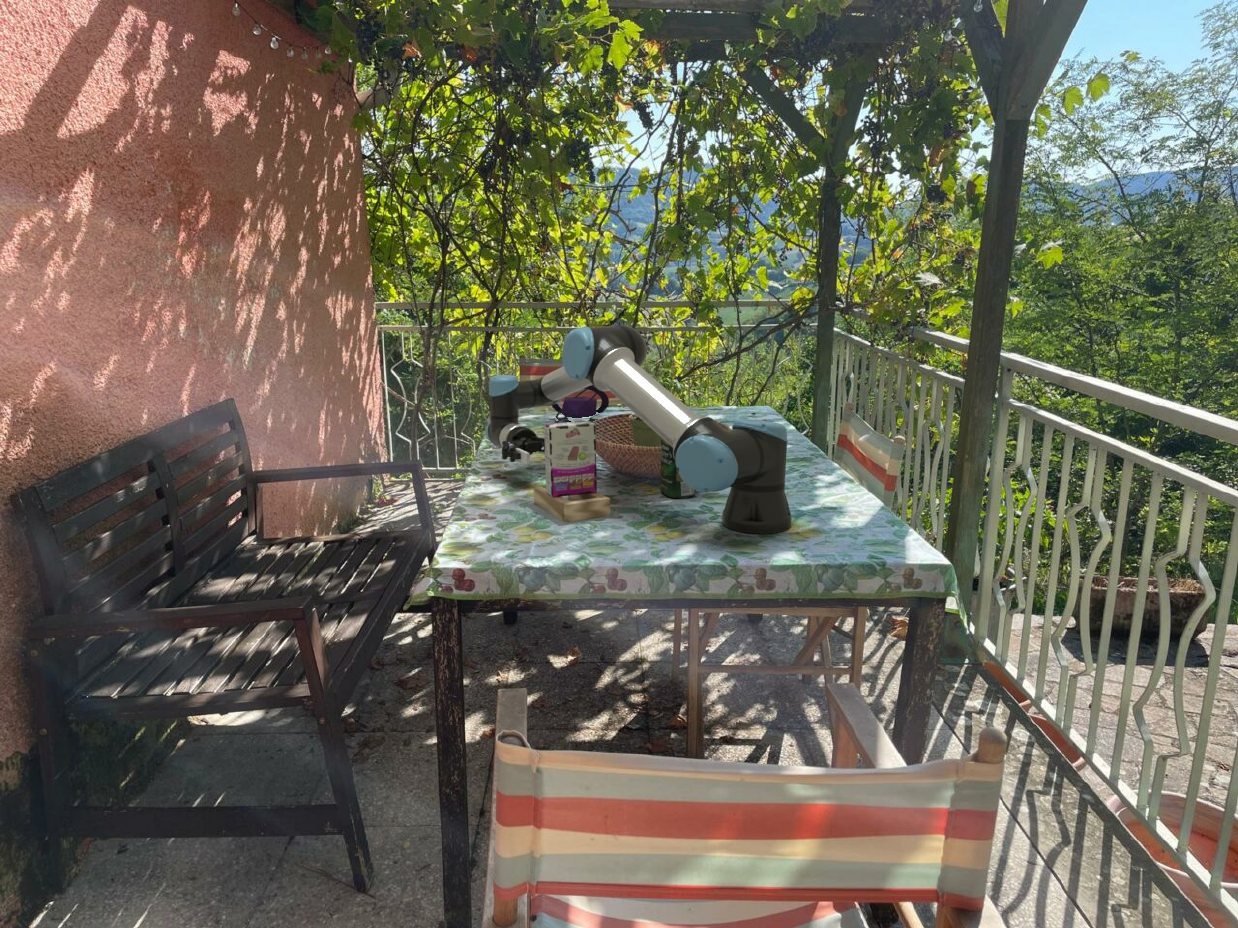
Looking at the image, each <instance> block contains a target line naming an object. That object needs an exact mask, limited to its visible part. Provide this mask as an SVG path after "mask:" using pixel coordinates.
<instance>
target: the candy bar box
mask: <svg viewBox="0 0 1238 928" xmlns="http://www.w3.org/2000/svg"><path fill="white" fill-rule="evenodd" d="M596 427H597V426H596V423H595V422H593V421H591V420H590V421H575V422H569V421H567V422H554V423H544V424H543V431H544V432H543V434H544V436H543V438H544V439H545V452H544V465H545V467H544V468H545V489H546V492H547V494H549V495H550V496H551V497H568V496H570V495H579V494H588V493H596V492H597V493H598V491H597V490H598V489H597V488H598V485H597V483H598V482H597V480H598V478H597V477H598V476H597V439H596V438H597V436H596V432H597V431H596V430H597V429H596Z"/></svg>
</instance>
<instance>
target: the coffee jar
mask: <svg viewBox="0 0 1238 928" xmlns="http://www.w3.org/2000/svg"><path fill="white" fill-rule="evenodd" d="M678 472H679V468H677V467H676V460H675V459H674V457H673V447H672V446H670V445H669V444H668V443H667V442H666V441H665V440H664V439H663V438H662V437H660V478H659V479H660V481H659V483H660V484H659V486H660V487H659V489H660V490H659V491H661V493H662V494H664V495H665V496H667V497H669V498H675V499H676V498H678V499H688V498H690V497H692V496H696V495H695V494H696V491H697V490H694V489H692V488H691V487H689V486H688V485H687V484H686V483H685V482H684V481H683V480H682V479H681V477H680V475H679V473H678Z"/></svg>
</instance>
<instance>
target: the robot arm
mask: <svg viewBox="0 0 1238 928" xmlns="http://www.w3.org/2000/svg"><path fill="white" fill-rule="evenodd" d="M561 349H562V350H561V358H562V365H563V366H561V367H559V368H557V369H555V370H553V371H551V372H549V373H547V374H546V375H544V376H541V377H540V378H537V379H536V378H535V379H530V380H518V377H517V376H516V375H514V374H513V375H512V374H498V375H493V376H491V377H490V379H489V384H488V385H489V387H488V396H489V407H490V413H489V414H490V415H489V421H488V423H487V424H486V427H485V436H486V439H487V440H488V441H489V443H492V444H493V446H494V447H498V448H501V459H502V460H504V461H505V460H508V458H509V462H511V463H515V462H516V461H518V462H520V463H522V464H524V465H527V466H528V465H531V464H530V463H531V462H530V461H531V459H530V458H531V457H530V456H532V455H533V453H545V439H544V437H539V436H538V435H537V434H536V433H535V431H534V430H532V429H530V428H528V427H526V426H524V425H521V424H519V412H520V411H519V410H525V409H531V408H539V407H540V408H541V407H552V406H551V405H554V404H558V405H559V403H561V402H562V400H563V398H565V397H568V396H569V395H572V394H574V393H577V392H579V391H582V390H584V389H583V388H586V387H588V386H590V385H591V386H592V385H594V387H596V388H597V389H598V390H600V391H603V392H610V393H611V394H613V395H614V397H616V398H617V399H618V400H619V401H620V402H622V404H624V405H625V406H626V407H627V408H628V409H629V410H630V411H631V412H632V413H634V415H636V416H637V417H638V418H639V419H640V420H642V422H644V423H645V425H647V426H648V427H649V428H651V430H652V431H654V433H656V434H657V435H658V436H659V437H660V438H661V437H662V438H663V439H664V440H665V441H666V442H667V443H668V444H669V445H670V446H672V447H673V457H674V459H675V460H676V467H677V468H679V472H678V473H679V475H680V477H681V479H682V480H683V481H684V482H685V483H686V484H687V485H688V486H689V487H691V488H692V489H694V490H696V491H697V492H701V493H711V492H712V493H713V492H714V493H715V492H721V491H724V490H727V489H728V488H730V490H729V493H728V496H727V499H726V503H725V506H724V508H723V510H722V515H721V524H722V525H723V526H725V528H727V529H730V530H732V531H737V532H741V533H747V534H748V533H749V534H775V533H781V532H784V531H787V530H789V529H790V528H791V526H792V517H793V516H792V512H791V511H790V506H789V502H788V499H787V494H786V491H785V489H786V488H785V487H786V470H787V469H786V468H787V448H788V444H789V442H788V431H787V427H786V426H785V425H784V424H782V423H779V422H773V421H767V420H761V419H760V420H759V419H747V418H745V419H744V418H738V419H734V420H733V422H732V425H731V429H725V428H724V427H723V426H722V425H721V424H719V423H718V422H717V421H716V420H715V419H713V418H712V417H710V416H702V417H700V416H699V415H698V414H696V413H695V412H694V411H693V410H692V409H691V408H690V407H688V406H687V405H686V404H685V403H683V402H682V401H680V399H679V398H677V397H676V396H675V395H674V394H673V393H672V392H671V391H670V390H668V389H667V388H665V387H664V385H662V384H661V383H660V382H659V381H658V380H657V379H655V378H654V377H653V376H652V375H650V373H648V372H647V371H646V370H645V369H643V368H642V366H643V364H644V362H645V360H646V359H647V358H646V357H647V344H646V341H645V338H644V337H643V335H642V334H641V333H640V332H639V331H638V330H636V329H635V328H633V327H632V326H629V325H625V324H624V325H622V324H617V325H606V326H604V325H603V326H582V327H577V328H575V329H572V330H571V331H570V332H568V333H567V335H566V337H565V339H564V340H563V344H562V348H561Z"/></svg>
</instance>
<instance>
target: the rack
mask: <svg viewBox="0 0 1238 928" xmlns="http://www.w3.org/2000/svg"><path fill="white" fill-rule="evenodd" d="M567 498H568V499H569V500H571V501H572V502H570V501H568V500H566V499H564V497H563V496H561V497H551V496H550V495H549V494H547V492H546V487H543V486H536V487H533V503H534V504H535V505H537V506H539V507H540V508H542V509H544V510H546V511H547V512H549V513H551V514H553V515H554V516H556V517H558V518H560V519H561V520H563V521H565V522H573V521H579V520H586V519H592V518H598V517H604V516H610V509H611V498H610V497H608V496H606V495H604V494H601V493H600V492H598V491H597V492H596V493H588V494H579V495H570V496H567Z"/></svg>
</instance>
